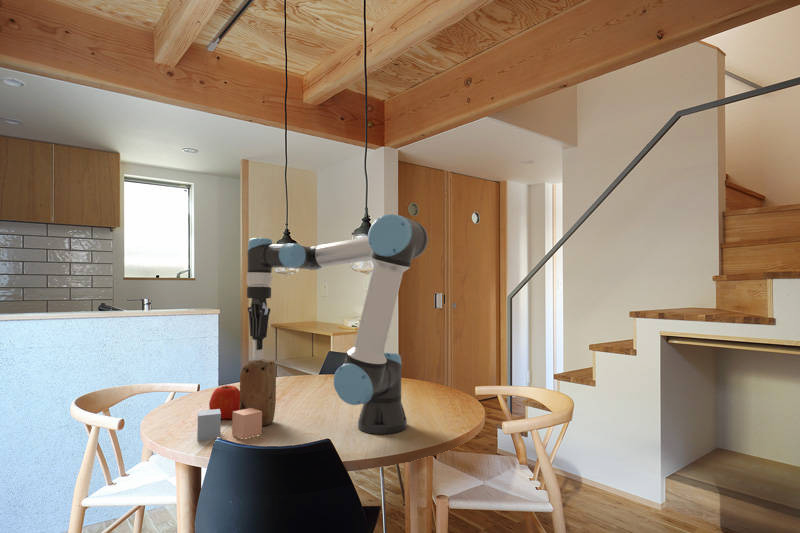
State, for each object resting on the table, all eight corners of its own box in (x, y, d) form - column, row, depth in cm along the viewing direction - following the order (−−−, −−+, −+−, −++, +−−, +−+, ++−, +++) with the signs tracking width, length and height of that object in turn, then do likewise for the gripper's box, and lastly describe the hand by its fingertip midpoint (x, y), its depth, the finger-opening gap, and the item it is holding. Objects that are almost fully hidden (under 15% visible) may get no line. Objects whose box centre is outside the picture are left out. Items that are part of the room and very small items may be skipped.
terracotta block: (261, 435, 137) (262, 411, 137) (242, 440, 132) (243, 415, 133) (250, 431, 141) (250, 407, 141) (232, 436, 136) (232, 411, 137)
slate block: (220, 438, 134) (220, 413, 134) (197, 441, 132) (198, 415, 132) (219, 432, 140) (219, 408, 140) (197, 435, 137) (197, 410, 137)
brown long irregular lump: (277, 420, 152) (278, 358, 153) (270, 427, 145) (270, 362, 146) (244, 420, 153) (245, 358, 154) (235, 426, 145) (236, 362, 146)
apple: (209, 414, 160) (209, 383, 160) (242, 411, 163) (243, 380, 164) (208, 423, 150) (209, 389, 150) (243, 419, 153) (244, 386, 154)
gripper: (278, 286, 148) (277, 361, 147) (262, 286, 158) (260, 356, 157) (255, 286, 144) (253, 363, 142) (240, 286, 154) (238, 358, 153)
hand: (257, 359), depth 150 cm, fingers closed
